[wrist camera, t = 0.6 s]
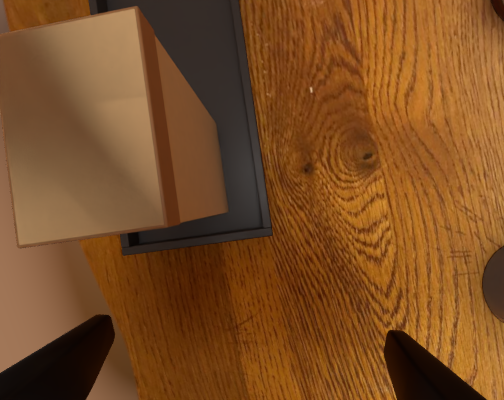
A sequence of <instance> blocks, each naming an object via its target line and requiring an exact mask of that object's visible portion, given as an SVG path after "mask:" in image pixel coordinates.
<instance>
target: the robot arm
mask: <svg viewBox="0 0 504 400" xmlns="http://www.w3.org/2000/svg"><path fill="white" fill-rule="evenodd" d="M114 338H115V332H114V329H113V324H112V320H111V317H110V316H109V315H100V314H99V315H95V316H94V317H92V318H90V319H89V320H87V321H85V322H84V323H82V324H80V325H79V326H77V327H75V328H74V329H72V330H71V331H69V332H67V333H66V334H64V335H62V336H61V337H59V338H57V339H56V340H54V341H52V342H51V343H49V344H47V345H46V346H44V347H42V348H41V349H39V350H38V351H36V352H34V353H32V354H31V355H29V356H27V357H26V358H24V359H23V360H21V361H19V362H18V363H16V364H14V365H13V366H11V367H9V368H8V369H6V370H4V371H3V372H1V373H0V400H86V398H87V396H88V395H89V393H90V391H91V389H92V387H93V385H94V383H95V381H96V378H97V376H98V374H99V372H100V370H101V367H102V365H103V363H104V361H105V359H106V357H107V355H108V352H109V350H110V348H111V346H112V344H113V341H114ZM384 358H385V361H386V364H387V368H388V371H389V374H390V378H391V381H392V384H393V388H394V391H395V394H396V398H397V400H486V399H485V398H484V397H483V396H482V395H480V394H479V393H478V392H477V391H476V390H474V389H473V388H472V387H471V386H470V385H468V384H467V383H466V382H465V381H463V380H462V379H461V378H460V377H459V376H457V375H456V374H455V373H454V372H453V371H451V370H450V369H449V368H448V367H446V366H445V365H444V364H443V363H442V362H440V361H439V360H438V359H437V358H436V357H434V356H433V355H432V354H431V353H430V352H428V351H427V350H426V349H425V348H423V347H422V346H421V345H420V344H419V343H417V342H416V341H415V340H414V339H413V338H411V337H410V336H409V335H408V334H406V333H405V332H404V331H400V330H389V331H388V333H387V337H386V342H385V346H384Z"/></svg>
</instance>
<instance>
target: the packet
mask: <svg viewBox="0 0 504 400" xmlns="http://www.w3.org/2000/svg"><path fill="white" fill-rule="evenodd" d="M0 113H1V120H2V129H3V137H4V144H5V153H6V161H7V169H8V177H9V185H10V193H11V200H12V209H13V216H14V225H15V233H16V241H17V247H18V248H26V247H33V246H40V245H48V244H55V243H62V242H68V241H75V240H83V239H90V238H97V237H104V236H111V235H118V234H125V233H132V232H139V231H146V230H153V229H160V228H167V227H171V226H176V225H179V224H180V223H182V222H186V221H191V220H195V219H200V218H204V217H209V216H213V215H218V214H222V213H226V212H229V209H228V202H227V195H226V188H225V181H224V174H223V167H222V160H221V153H220V146H219V139H218V132H217V125H216V123H215V121H214V120H213V118H212V117H211V115H210V114H209V113H208V111H207V110H206V108H205V107H204V105H203V104H202V102H201V101H200V100H199V98H198V97H197V95H196V94H195V92H194V91H193V89H192V88H191V87H190V85H189V84H188V82H187V81H186V79H185V78H184V76H183V75H182V74H181V72H180V71H179V69H178V68H177V66H176V65H175V63H174V62H173V60H172V59H171V58H170V56H169V55H168V53H167V52H166V50H165V49H164V47H163V46H162V45H161V43H160V42H159V40H158V39H157V37H156V36H155V34H154V30H153V28H152V27H151V25H150V24H149V22H148V21H147V19H146V18H145V17H144V15H143V14H142V12H141V11H140V9H139V8H138V7H137V6H134V7H129V8H124V9H119V10H114V11H109V12H105V13H100V14H95V15H90V16H85V17H80V18H76V19H71V20H66V21H61V22H56V23H51V24H47V25H42V26H37V27H32V28H27V29H22V30H18V31H13V32H8V33H3V34H0Z"/></svg>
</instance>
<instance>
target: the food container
mask: <svg viewBox="0 0 504 400" xmlns="http://www.w3.org/2000/svg"><path fill="white" fill-rule="evenodd" d="M491 2H492V4H493V7H494V9H495V11H496V13H497V14H498V15H499V16H500V17H501V18H502V20H503V21H504V0H491Z"/></svg>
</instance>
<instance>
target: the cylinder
mask: <svg viewBox="0 0 504 400" xmlns="http://www.w3.org/2000/svg"><path fill="white" fill-rule="evenodd" d="M483 292H484V297H485V300H486V302H487V304H488V306H489V308H490V309H491V311H492V312H493V314H494V315H495V316H496V317H497V318H498V319H499V320H500V321H501V322H503V323H504V246H503V247H502V248H501V249H499V250H498V251H497V252H496V253H495V254H494V255H493V256H492V258H491V259H490V260H489V262H488V264H487V266H486V269H485V271H484V276H483Z"/></svg>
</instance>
